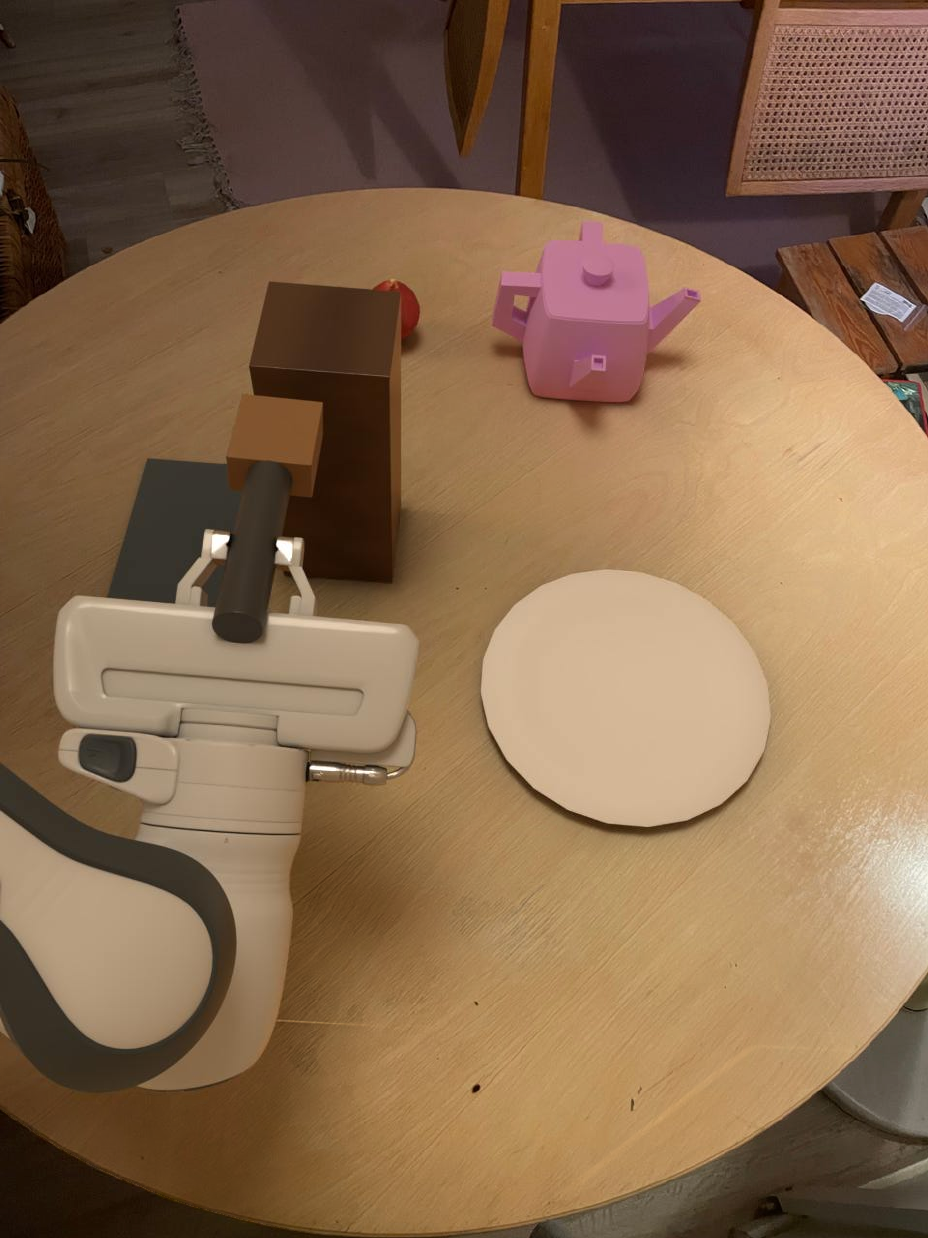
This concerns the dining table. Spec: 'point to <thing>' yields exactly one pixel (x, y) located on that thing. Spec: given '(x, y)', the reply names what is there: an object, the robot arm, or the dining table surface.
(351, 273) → the dining table surface
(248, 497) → the brown block with handle
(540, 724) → the plate
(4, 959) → the robot arm
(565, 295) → the teakettle
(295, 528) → the post
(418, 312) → the onion
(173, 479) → the felt mat
